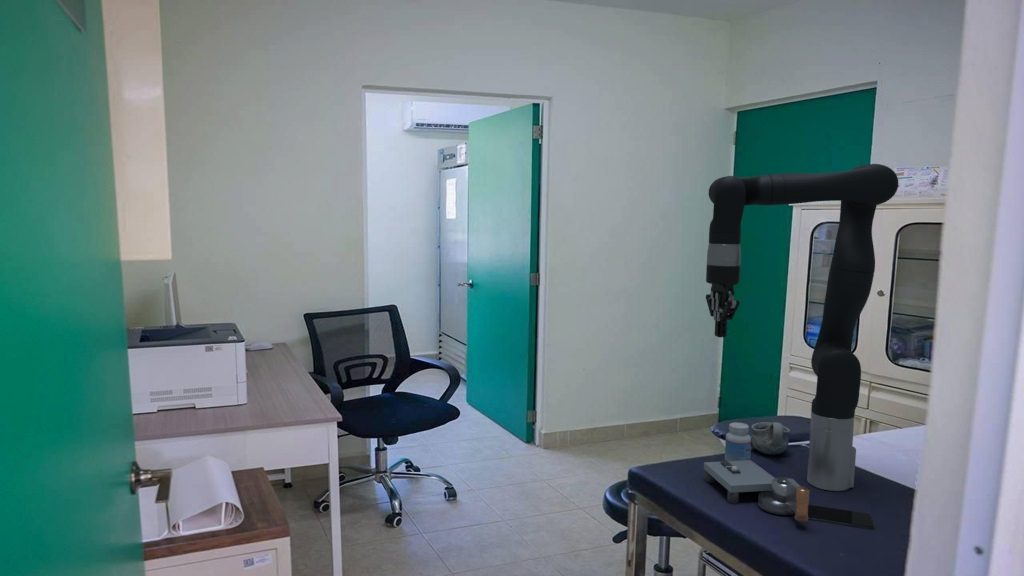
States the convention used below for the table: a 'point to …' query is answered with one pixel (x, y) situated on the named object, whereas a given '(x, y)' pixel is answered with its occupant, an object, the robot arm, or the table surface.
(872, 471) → the table surface
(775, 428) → the mug
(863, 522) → the smartphone
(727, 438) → the pill bottle
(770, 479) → the slide switch panel
